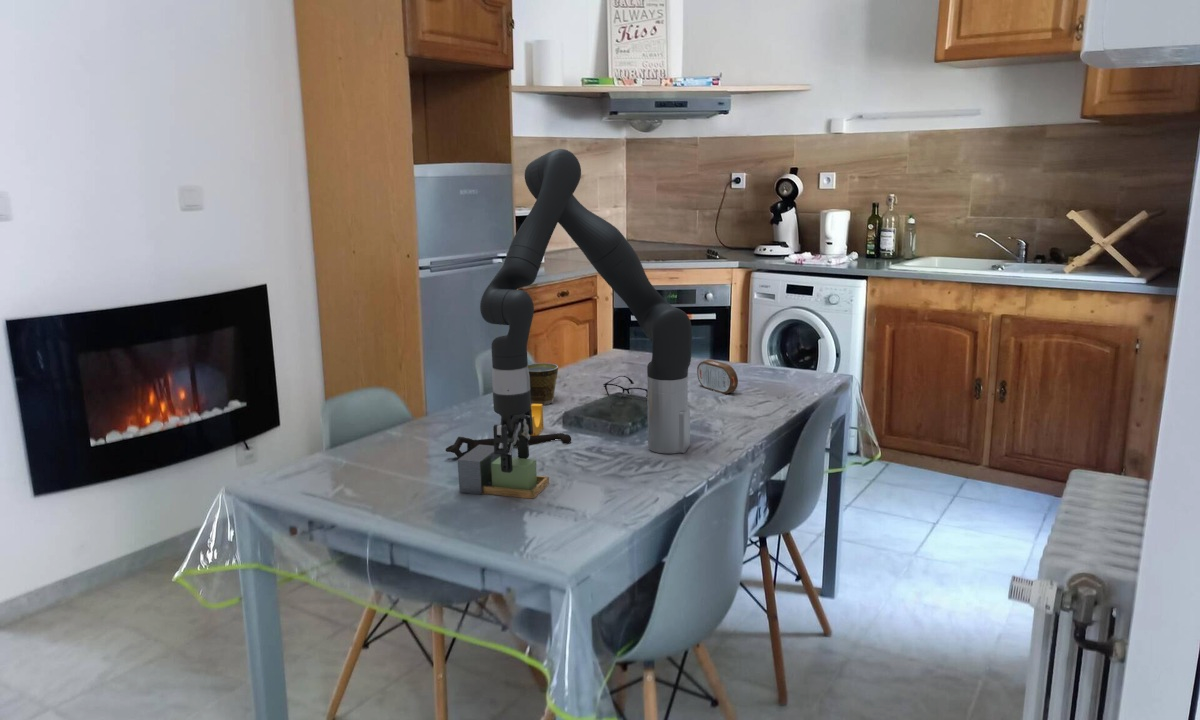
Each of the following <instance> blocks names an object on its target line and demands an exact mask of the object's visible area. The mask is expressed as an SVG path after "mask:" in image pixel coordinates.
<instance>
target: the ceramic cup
mask: <svg viewBox="0 0 1200 720" xmlns="http://www.w3.org/2000/svg"><path fill="white" fill-rule="evenodd" d="M528 371H529V376H530V394H531V405H532V404H543V406H546V404H547V405H550V403H551V404H553V402H554V397H555V391H556V382H557V379H558V374H559V373H558V372H559V366H558V365H557V364H556V363H555V364H554V363H549V362H548V363H547V362H538V363H530V364H528Z"/></svg>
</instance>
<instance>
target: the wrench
mask: <svg viewBox="0 0 1200 720" xmlns="http://www.w3.org/2000/svg"><path fill="white" fill-rule="evenodd" d="M508 439H509V438H508ZM555 439H561V440H560V441H561V442H562V444H564V443H569V442H570V443H571V442H572V436H571V435H570V434H565V433H563V432H562V433H561V432H559V433H558V432H557V433H552V434H551V433H550V434H539V435H534V436H530V440H528V445H534V444H542V443H541V442H543V443H547V442H546V441H549V442H552V441H551V440H555ZM517 441H518V439H517ZM517 441H516V444H515V445H513V448H514V447H518V446H517ZM555 441H556V440H555ZM570 443H569V444H570ZM463 444H466V446H467V447H466V451H463V452H462V451H461V450H460V448H461V447H462V445H463ZM479 444H480V445H491V446H494V437H493V438H483V439H472V438H468V437H464V436H458V437H457V438H456V440H455V442H454V443H453V444H451V445H450V446H448V447H446V448H445V452H446V453H453V454H454V455H455V456H456V457H457V458H458V459H459V458H461V457H462V456H464V455H465V454H466V453H468V452H469V451H471V450H472V449H474V448H475V447H476V446H478V445H479ZM499 445H500V443H499ZM508 446H509V444H508Z"/></svg>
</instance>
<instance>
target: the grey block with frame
mask: <svg viewBox="0 0 1200 720" xmlns="http://www.w3.org/2000/svg"><path fill="white" fill-rule="evenodd" d="M499 457H500V454H495V453H494V446H491V445H480V444H479V445H478V446H476V447H475V448H474V449H472V450H471V451H469V452H468V453H466V454H465V455H464V456H462V457H461V458H458V459H457V471H458V472H457V473H458V487H459V488H458V489H459V491H458V492H459V493H463V494H473V495H481V496H482V495H483V494H485V495H493V496H504V497H513V498H521V499H529V500H530V499H531V500H533V499H535V498H536V497H537V496H538V495H539V494H540V493H541V492H542V491H544V490H545V489H546V487H547V486H549V485H550V477H549V476H544V475H537V486H536V487H534V488H533V489H532V490H522V489H513V488H503V487H494V486H492V471H491V463H492V462H494V461H495V460H496V459H498V458H499Z"/></svg>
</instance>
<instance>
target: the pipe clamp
mask: <svg viewBox="0 0 1200 720" xmlns="http://www.w3.org/2000/svg"><path fill="white" fill-rule="evenodd" d="M543 407H544V405H543V404H531V410H532V423H533V434H532V435H530V436H534V435H540V434H541V433H540V432H542V431H543V430H542V429H544V428H543V427H544V408H543ZM527 426H528V425H527ZM528 428H529V427H528ZM541 430H542V431H541ZM539 433H540V434H539Z"/></svg>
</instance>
